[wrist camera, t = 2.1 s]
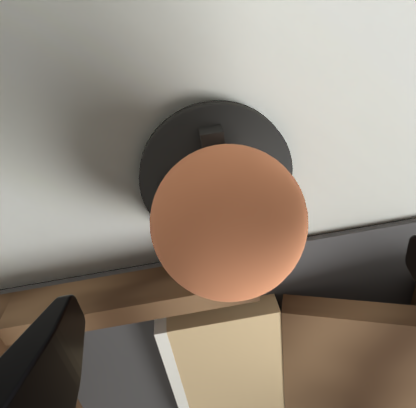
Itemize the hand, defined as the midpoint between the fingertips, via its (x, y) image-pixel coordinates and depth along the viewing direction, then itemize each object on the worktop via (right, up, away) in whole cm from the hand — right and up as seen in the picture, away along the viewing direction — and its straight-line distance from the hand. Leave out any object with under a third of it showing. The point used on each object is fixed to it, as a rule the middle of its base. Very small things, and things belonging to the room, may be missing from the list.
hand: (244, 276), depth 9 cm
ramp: (+8, -6, +11) cm, 14 cm away
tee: (-1, +3, +5) cm, 6 cm away
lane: (+1, -6, +11) cm, 13 cm away
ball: (-1, +3, +4) cm, 5 cm away
